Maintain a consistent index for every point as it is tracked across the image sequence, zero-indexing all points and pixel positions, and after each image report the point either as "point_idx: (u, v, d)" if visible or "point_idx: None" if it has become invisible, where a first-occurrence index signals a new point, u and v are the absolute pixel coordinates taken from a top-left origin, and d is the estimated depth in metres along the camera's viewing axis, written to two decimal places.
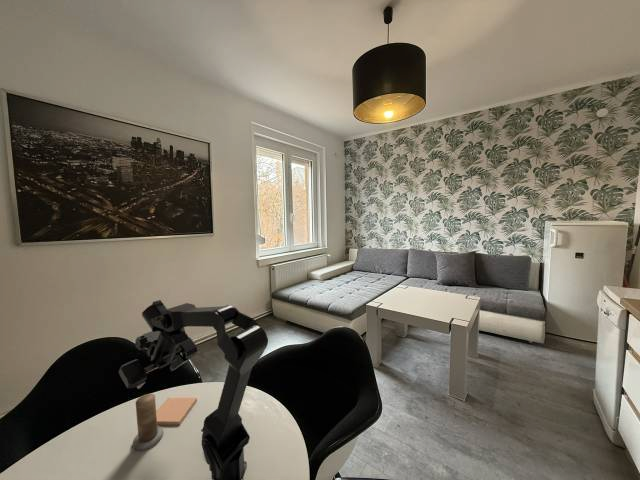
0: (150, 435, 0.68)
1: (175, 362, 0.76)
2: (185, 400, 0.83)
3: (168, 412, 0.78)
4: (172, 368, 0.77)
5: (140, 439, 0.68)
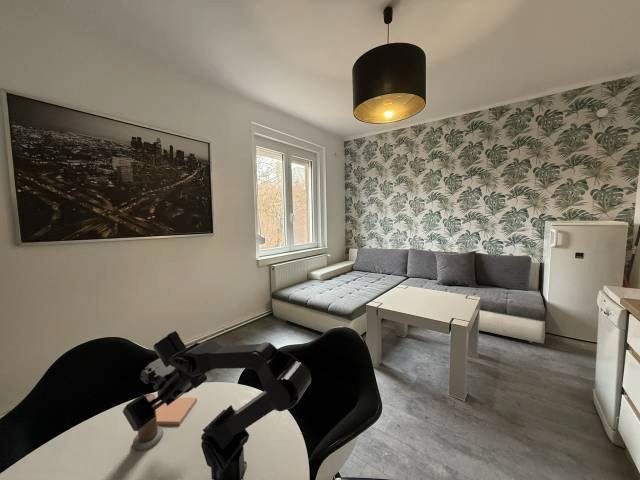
0: (150, 435, 0.68)
1: None
2: (185, 400, 0.83)
3: (168, 412, 0.78)
4: None
5: (140, 439, 0.68)
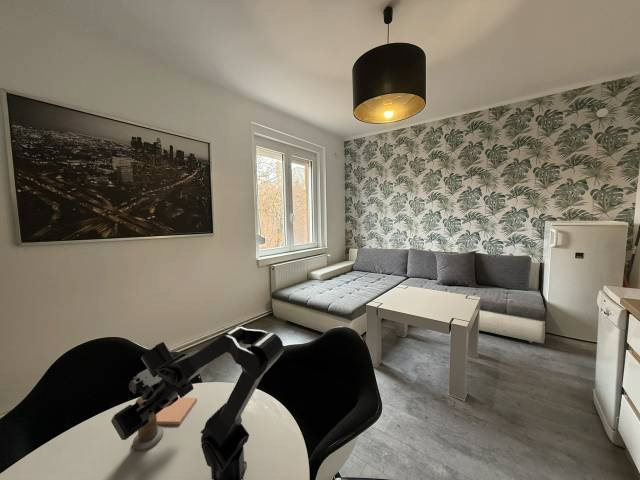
0: (150, 435, 0.68)
1: None
2: (185, 400, 0.83)
3: (168, 412, 0.78)
4: None
5: (140, 439, 0.68)
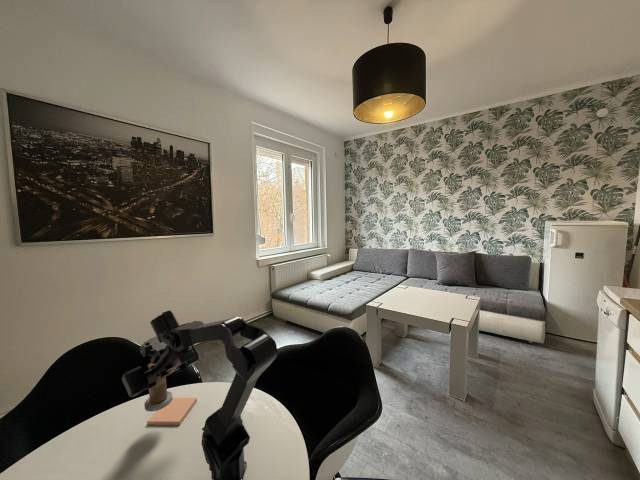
0: (159, 398, 0.72)
1: None
2: (185, 400, 0.83)
3: (168, 412, 0.78)
4: None
5: (150, 401, 0.72)
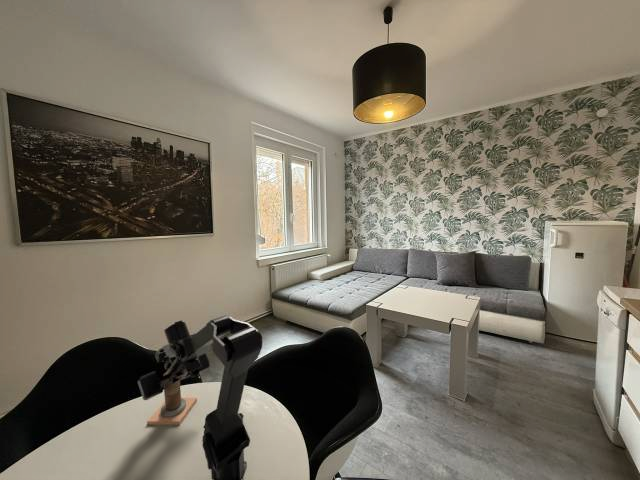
0: (173, 406, 0.78)
1: None
2: None
3: None
4: None
5: (166, 407, 0.78)
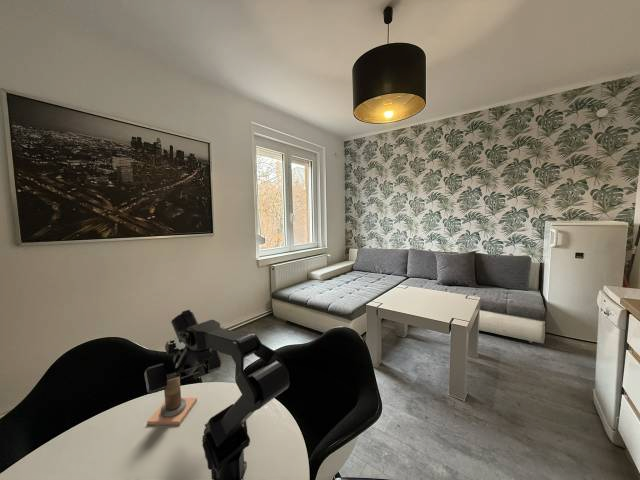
0: (173, 406, 0.78)
1: (198, 371, 0.75)
2: (185, 400, 0.83)
3: None
4: (195, 376, 0.76)
5: (166, 407, 0.78)
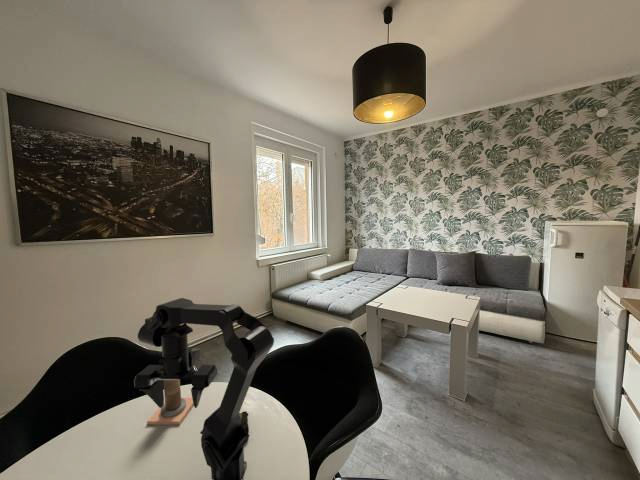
0: (173, 406, 0.78)
1: None
2: None
3: None
4: None
5: (166, 407, 0.78)
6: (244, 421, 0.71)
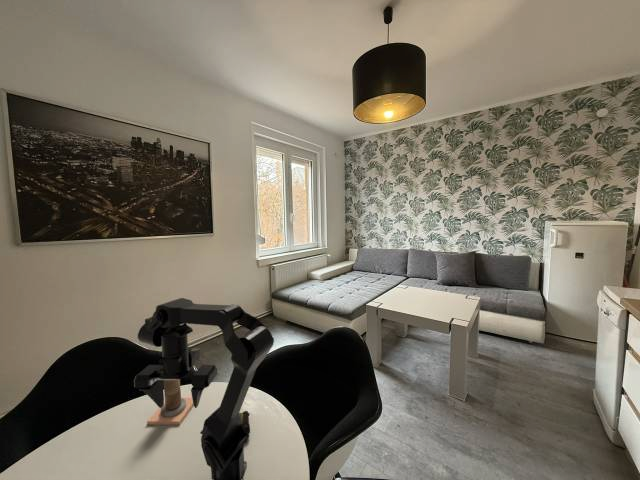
0: (173, 406, 0.78)
1: None
2: (185, 400, 0.83)
3: None
4: None
5: (166, 407, 0.78)
6: (245, 421, 0.71)
